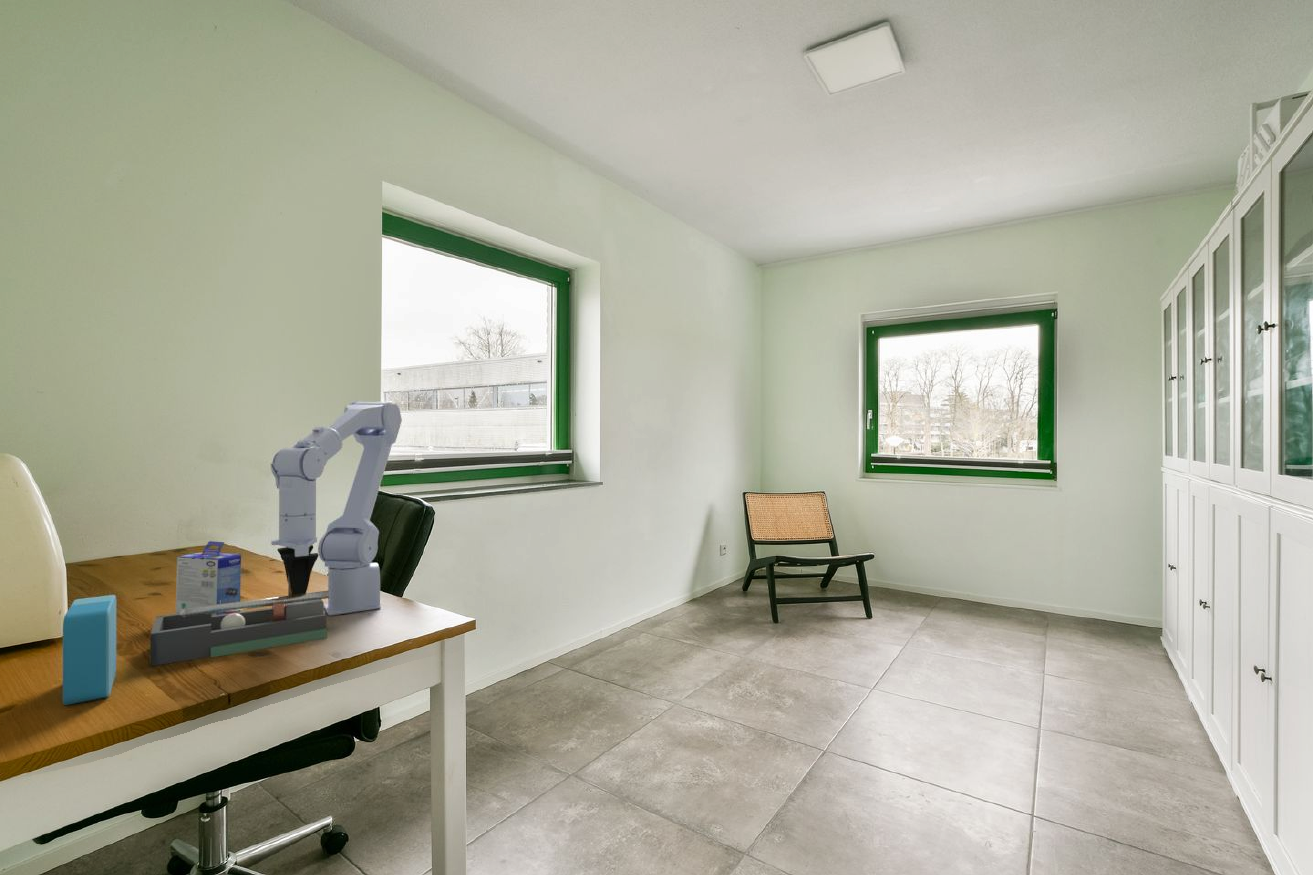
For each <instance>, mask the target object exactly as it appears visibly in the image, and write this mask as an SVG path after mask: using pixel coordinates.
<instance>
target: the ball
mask: <svg viewBox="0 0 1313 875" xmlns="http://www.w3.org/2000/svg"><path fill="white" fill-rule="evenodd" d="M241 626H245V619H244V617H243V616H242V615H240V614H237V613H233V614H229V615H227V616H226V617H225V618H224V619H223V620H222V621H221V625H220V627H221V629H228V628H235V627H241Z"/></svg>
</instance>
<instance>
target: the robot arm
mask: <svg viewBox="0 0 1313 875" xmlns="http://www.w3.org/2000/svg"><path fill="white" fill-rule="evenodd" d="M402 420H403V419H402V415H401V410H400V408H399V405H398V404H397V403H396V402H395V401H393V400H389V401H357V400H353V401H351V402H349V404H347V405H345V406H344V409H343V413H342V414H341V416H339V417H338V418H337V419H336V420H335V421H334V422H333V423H332V424H330V426H316V427H314V428H312V430H311V431H312V432H311V433H310V434H308V435H307V436H306V437H304V438H303V439H299V440H298V441H297V442H296V444H295V445H293V446H292V447H283V448H281V449H280V450H278V451H277V452H276V453H275V455H274V456H273V459H272V461H271V463H270V469H271V470H270V471H271V473H272V475H273V476H274V478H275V486H276V488H277V489H278V538H277V539H276V538H275V539H271V540H270V544H271V546H277V545H278V546H280V547H279V548H277V552H278V553H279V555H280V559H281V560H282V562H283V566H284V571H285V575H286V580H287V582H288V576H289V582H290V587H291V591H292V594H293V595H294V594H302V593H307V591H308V587H309V583H310V578H311V574H312V571H313V568H314V566H315V563H316V562H317V560H318V559H320V560H321V561H322V562H323V563H324V567H326V568H328V569H327V571H328V573H327V578H328V579H327V581H328V583H327V584H328V585H327V587H328V588H327V591H328V590H329V598H327V603H324V609H325V610H324V611H325V612H326V613H327V615H328V616H336V615H337V616H338V615H342V614H343V615H344V614H348V613H349V614H350V613H357V612H362V611H363V612H364V611H369V610H376V609H381V608H382V607H381V573H380V572H381V571H380V566H379V563H378V562H373V560H374V559H375V557H376V556H377V553H378V549H379V548H378V547H379V545H378V542H379V535H380V531H379V529H378V528H377V527H376V525H375V524H374V523H373V522H372V521H371V518H372V514H373V510H374V507H375V503H376V501H377V498H378V497H377V496H378V494H379V491H380V487H381V484H382V479H383V477H384V473H385V470H386V467H387V463H388V460H389V458H390V457H389V456H390V452H391V450H392V446H393V444H395V443H396V441H397V438H398V434H399V433H400V428H401V425H402ZM352 435H353V437H354V439H355V441H356V442H357V443H359V444H360V445H362V447H363V450H362V454H361V456H360V460H359V464H358V466H357V470H356V472H355V475H354V479H353V480H352V481H353V482H352V485H351V489H350V491H349V494H348V497H347V501H346V503H345V506H344V510H343V514H342V515H341V516H339V517H338V518H336V519H335V520H333V521H332V522H330V523H329V524H328V525H327V528H326V530H325V532H324V534H323V535H322V537H321V538H320V540H319V542H318V536H317V479H318V478H320V477H321V476H322V474H323V472H324V469H325V466H326V465H327V462H328V461H329V460H331V458H332V457H334V456H335V455H336V454H337V453H339V452H340V451H341V450H342V448H343V441H344V440H346V439H347V438H349V437H351V436H352ZM317 542H318V546H317V552H313V553H311V552H312V551H313V549H314V544H316V543H317Z"/></svg>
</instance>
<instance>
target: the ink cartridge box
mask: <svg viewBox="0 0 1313 875" xmlns="http://www.w3.org/2000/svg"><path fill="white" fill-rule="evenodd" d="M224 544H225V542H222V541H214V540H213V541H211V540H209V541H208V542H207V544H206V545H205V547H204V550H203V551H202V552H194V553H190V554H184V555H180V556H177V557H176V580H175V581H176V586H175V587H176V588H175V613H174V614H177V613H180V611H181V610H183V609H188V608H195V607H203V606H211V605H219V604H227V603H234V602H241V589H242V588H241V584H242V582H241V580H242V579H241V578H242V575H241V574H242V554H241V553H225V552H224V553H222V552H221V550H222V549H223V546H224ZM211 546H217V547H218V548H217V549H215V548H210V547H211ZM236 612H241V610H237V611H230V612H222V613H215V614H212V616H214V615H221V614H229V613H236Z"/></svg>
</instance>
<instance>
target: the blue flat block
mask: <svg viewBox="0 0 1313 875" xmlns="http://www.w3.org/2000/svg"><path fill="white" fill-rule="evenodd" d="M116 671H117V596H116V595H115V594H109V595H102V596H93V597H86V598H78V599H74V600H72V603H71V605H70V607H69V608H68V610H67V612H66V613H65V614H64V617H63V622H62V703H63V705H64V706H69V705H73V704H79V703H85V702H88V701H94V700H98V699H103V698H104V699H105V698H109V697H110V695H111V692H112V689H113V684H114V680H115V677H116V674H117V673H116Z"/></svg>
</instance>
